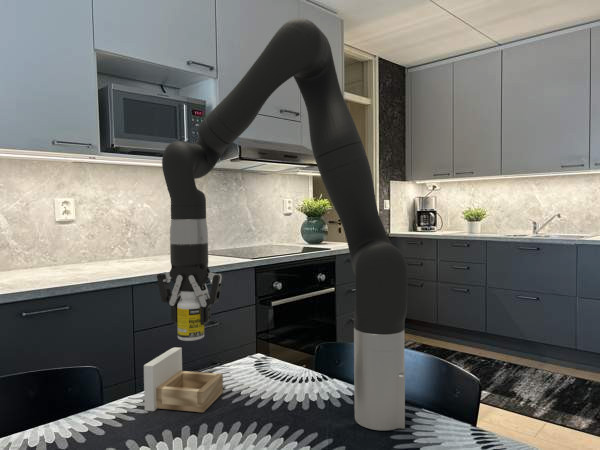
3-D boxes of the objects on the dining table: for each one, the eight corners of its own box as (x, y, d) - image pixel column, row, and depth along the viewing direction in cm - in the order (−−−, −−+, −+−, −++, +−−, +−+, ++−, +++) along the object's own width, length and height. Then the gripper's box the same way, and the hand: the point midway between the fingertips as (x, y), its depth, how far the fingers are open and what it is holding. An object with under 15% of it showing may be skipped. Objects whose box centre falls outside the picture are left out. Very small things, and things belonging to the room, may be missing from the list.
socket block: (223, 392, 98) (222, 373, 98) (203, 412, 89) (203, 392, 89) (180, 388, 101) (180, 370, 101) (156, 408, 91) (156, 388, 91)
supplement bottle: (189, 343, 90) (188, 293, 90) (172, 338, 94) (171, 291, 93) (210, 336, 95) (209, 289, 94) (193, 332, 98) (192, 287, 98)
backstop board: (182, 387, 102) (181, 347, 101) (153, 411, 90) (152, 366, 90) (174, 387, 102) (173, 347, 102) (144, 410, 90) (143, 365, 90)
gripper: (229, 240, 96) (230, 320, 96) (166, 240, 99) (168, 317, 99) (214, 242, 88) (216, 329, 89) (147, 242, 91) (149, 326, 92)
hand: (190, 323), depth 94 cm, fingers closed on supplement bottle, 5 cm apart
